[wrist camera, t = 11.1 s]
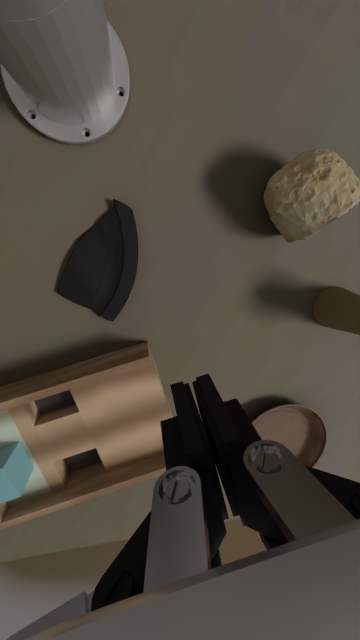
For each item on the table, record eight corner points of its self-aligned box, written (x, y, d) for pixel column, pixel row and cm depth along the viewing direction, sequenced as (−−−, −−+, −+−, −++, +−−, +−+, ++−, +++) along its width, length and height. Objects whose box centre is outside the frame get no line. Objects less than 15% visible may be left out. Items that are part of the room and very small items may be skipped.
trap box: (-43, 399, 37) (-73, 426, 31) (147, 340, 38) (148, 356, 33) (14, 494, 42) (-4, 531, 36) (180, 439, 43) (186, 466, 38)
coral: (309, 274, 32) (292, 195, 25) (264, 240, 39) (242, 172, 33) (387, 227, 31) (390, 132, 24) (325, 201, 38) (315, 123, 32)
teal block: (-15, 452, 36) (-37, 481, 32) (19, 441, 36) (2, 468, 32) (1, 478, 37) (-17, 509, 33) (34, 467, 37) (20, 496, 33)
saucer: (333, 410, 46) (345, 420, 44) (291, 481, 49) (299, 494, 46) (258, 383, 43) (266, 392, 40) (217, 461, 46) (222, 474, 43)
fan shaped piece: (164, 228, 35) (165, 227, 33) (115, 320, 37) (114, 323, 36) (102, 190, 33) (101, 188, 31) (55, 291, 35) (51, 293, 34)
